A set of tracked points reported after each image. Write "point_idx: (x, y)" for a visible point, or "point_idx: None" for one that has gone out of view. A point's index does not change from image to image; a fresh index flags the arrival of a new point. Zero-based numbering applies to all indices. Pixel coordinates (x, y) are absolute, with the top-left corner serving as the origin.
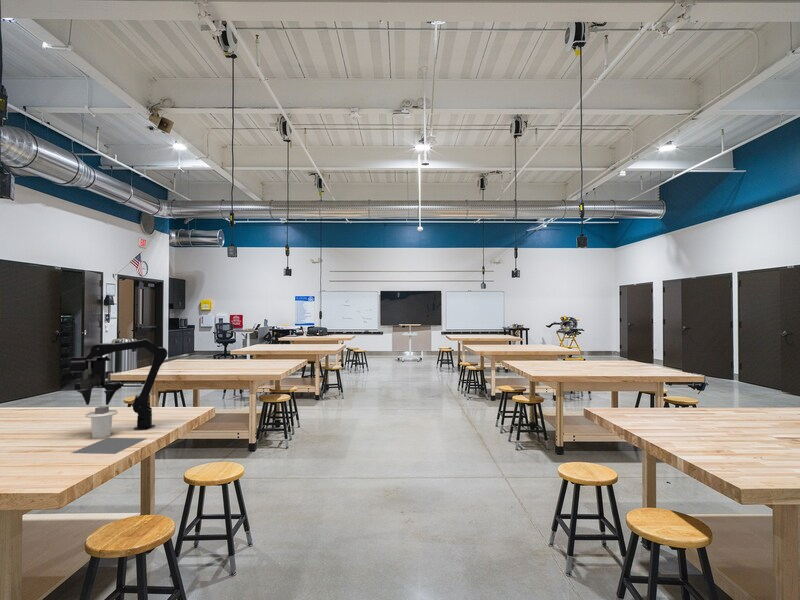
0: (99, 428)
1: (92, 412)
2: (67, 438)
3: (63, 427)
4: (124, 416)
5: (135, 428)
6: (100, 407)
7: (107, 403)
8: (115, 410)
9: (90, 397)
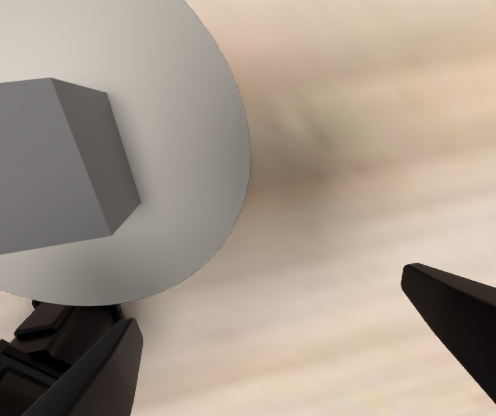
0: None
1: (226, 165)
2: (316, 73)
3: (461, 234)
4: (329, 394)
5: None
6: (5, 153)
7: (104, 344)
8: (51, 297)
9: (492, 399)
